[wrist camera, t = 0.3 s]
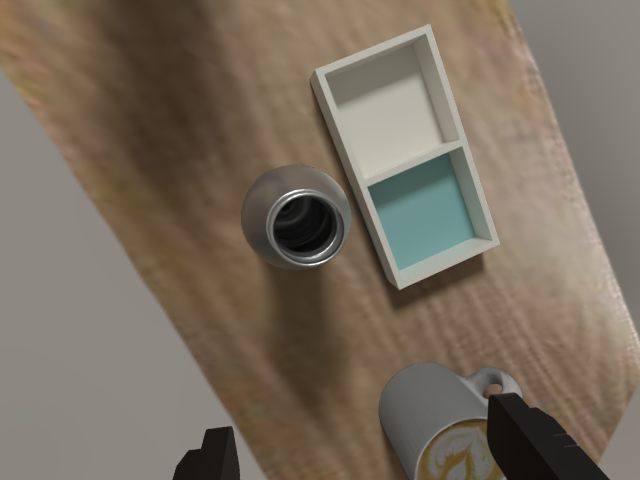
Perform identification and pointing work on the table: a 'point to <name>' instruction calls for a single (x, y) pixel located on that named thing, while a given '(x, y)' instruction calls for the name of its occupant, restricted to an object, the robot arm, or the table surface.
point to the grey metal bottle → (296, 217)
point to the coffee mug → (442, 421)
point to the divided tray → (406, 156)
